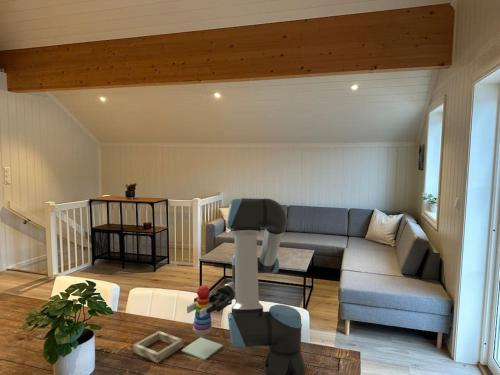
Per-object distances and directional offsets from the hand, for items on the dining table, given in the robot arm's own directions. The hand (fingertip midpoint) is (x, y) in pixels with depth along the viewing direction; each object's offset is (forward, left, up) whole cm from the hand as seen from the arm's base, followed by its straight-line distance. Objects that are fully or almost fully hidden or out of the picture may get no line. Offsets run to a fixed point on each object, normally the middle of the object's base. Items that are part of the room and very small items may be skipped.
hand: (194, 311), depth 136 cm
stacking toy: (0, -5, -10) cm, 11 cm away
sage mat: (0, -5, -17) cm, 18 cm away
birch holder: (+15, +5, -17) cm, 23 cm away
